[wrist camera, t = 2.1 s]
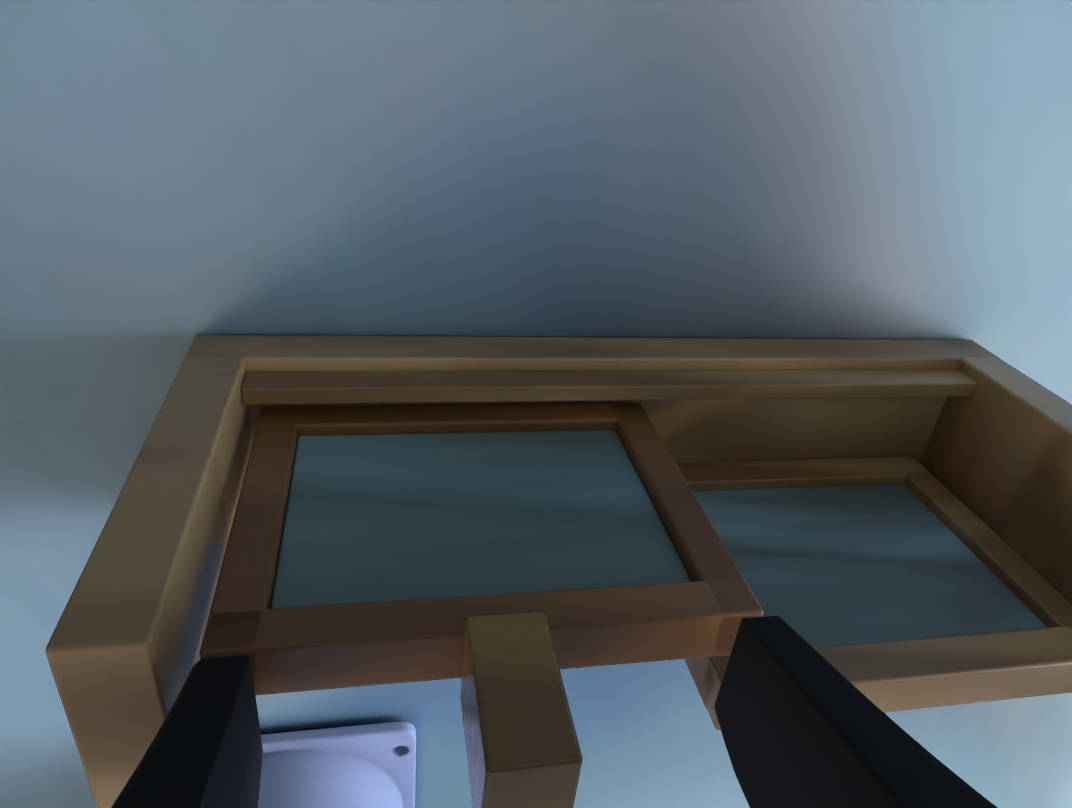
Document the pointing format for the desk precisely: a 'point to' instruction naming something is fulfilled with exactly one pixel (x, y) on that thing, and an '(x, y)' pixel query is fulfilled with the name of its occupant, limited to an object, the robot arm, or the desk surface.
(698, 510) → the sash
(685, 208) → the desk surface
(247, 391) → the window frame
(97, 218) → the desk surface
